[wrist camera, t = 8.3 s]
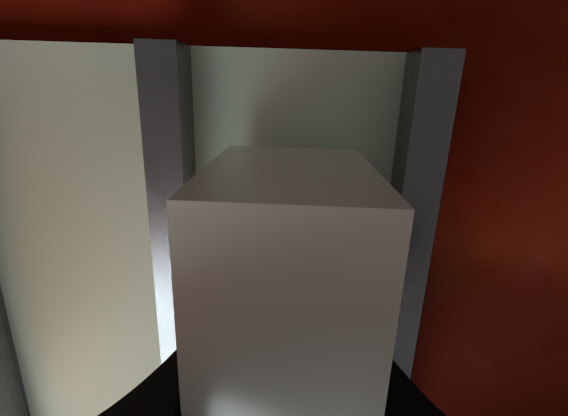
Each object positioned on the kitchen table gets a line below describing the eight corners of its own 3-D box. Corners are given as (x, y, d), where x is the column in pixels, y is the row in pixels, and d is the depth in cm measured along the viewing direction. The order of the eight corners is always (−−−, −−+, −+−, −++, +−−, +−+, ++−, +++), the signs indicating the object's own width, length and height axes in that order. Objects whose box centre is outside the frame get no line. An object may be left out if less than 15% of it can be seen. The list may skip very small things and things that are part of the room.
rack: (376, 453, 18) (388, 509, 16) (29, 434, 18) (-11, 486, 16) (434, 55, 12) (466, 48, 10) (-65, 40, 13) (-147, 29, 10)
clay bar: (329, 439, 15) (349, 648, 10) (233, 434, 15) (197, 637, 10) (356, 149, 12) (414, 209, 6) (229, 145, 12) (165, 199, 6)
